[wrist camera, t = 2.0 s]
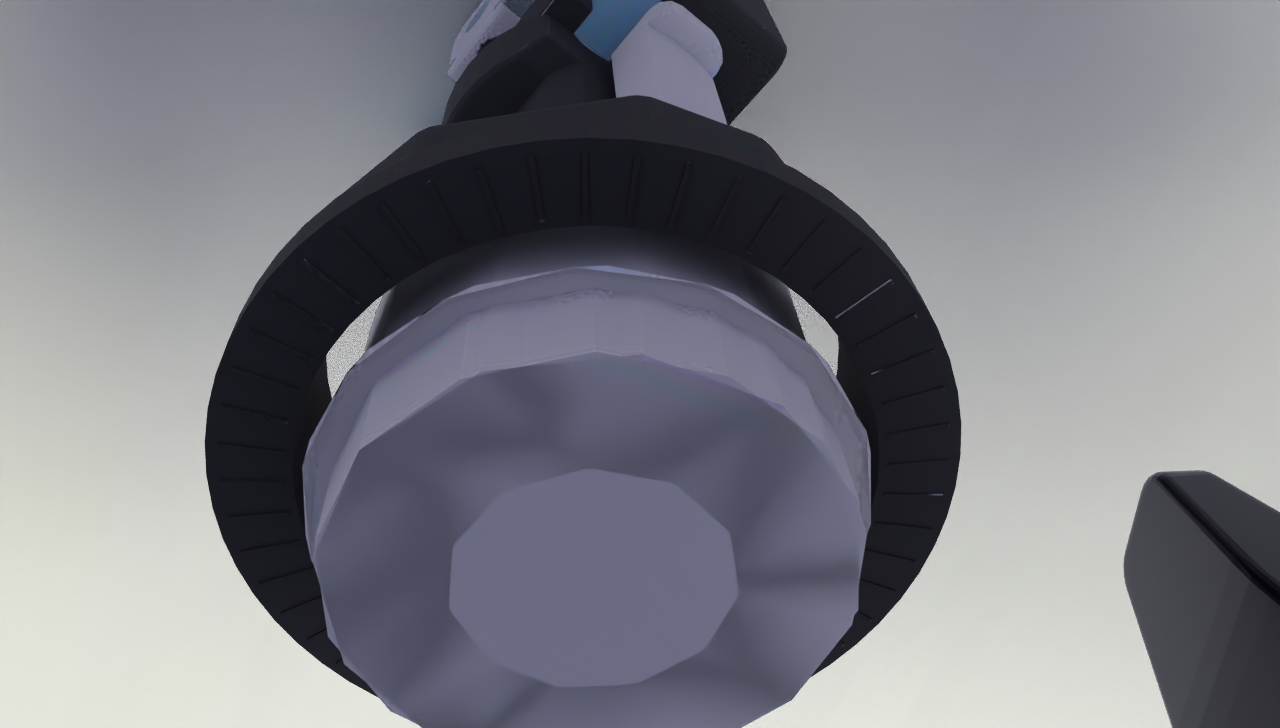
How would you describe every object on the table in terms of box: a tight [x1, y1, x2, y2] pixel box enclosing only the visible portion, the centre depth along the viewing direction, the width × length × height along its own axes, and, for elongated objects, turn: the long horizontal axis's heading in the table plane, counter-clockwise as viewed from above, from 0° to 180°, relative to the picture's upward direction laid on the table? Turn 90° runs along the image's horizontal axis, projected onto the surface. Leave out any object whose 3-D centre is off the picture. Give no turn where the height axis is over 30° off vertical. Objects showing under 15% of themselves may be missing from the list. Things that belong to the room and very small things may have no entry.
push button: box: [205, 0, 961, 728], centre depth 12 cm, size 7×5×10 cm
